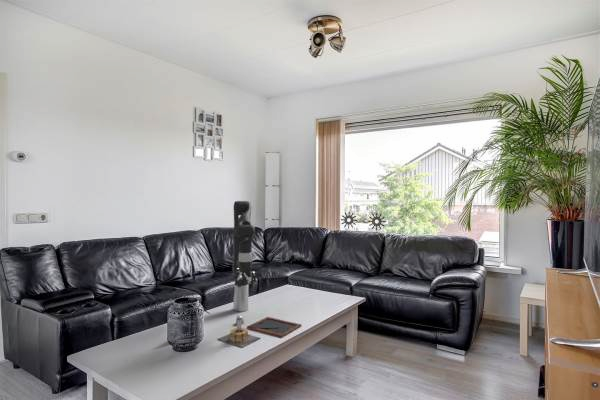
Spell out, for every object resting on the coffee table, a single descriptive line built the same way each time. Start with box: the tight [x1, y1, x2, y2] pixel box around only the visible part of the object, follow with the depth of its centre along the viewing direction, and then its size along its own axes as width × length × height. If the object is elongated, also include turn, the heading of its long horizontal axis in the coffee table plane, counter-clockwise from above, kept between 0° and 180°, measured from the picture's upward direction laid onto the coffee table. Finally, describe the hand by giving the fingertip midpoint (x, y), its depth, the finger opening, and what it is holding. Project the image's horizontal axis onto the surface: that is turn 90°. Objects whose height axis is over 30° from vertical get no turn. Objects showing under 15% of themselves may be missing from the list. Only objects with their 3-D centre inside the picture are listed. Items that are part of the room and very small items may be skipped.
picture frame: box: [246, 316, 302, 338], centre depth 203 cm, size 20×2×25 cm
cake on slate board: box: [217, 327, 261, 349], centre depth 186 cm, size 18×14×4 cm
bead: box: [235, 317, 245, 326], centre depth 209 cm, size 4×4×3 cm
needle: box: [236, 314, 242, 333], centre depth 186 cm, size 2×2×12 cm
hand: (245, 288), depth 197 cm, fingers open, 8 cm apart
